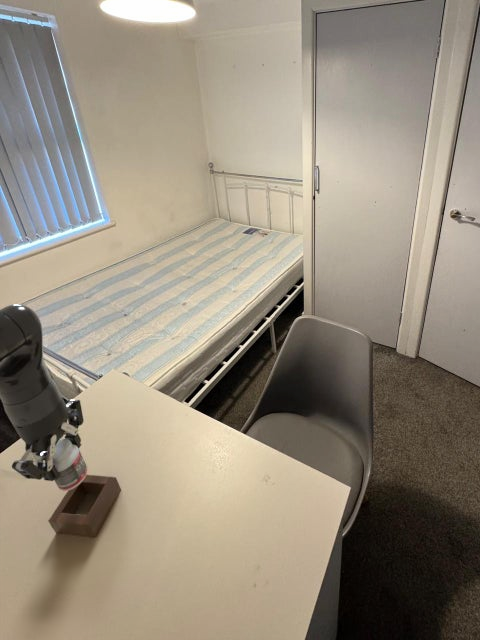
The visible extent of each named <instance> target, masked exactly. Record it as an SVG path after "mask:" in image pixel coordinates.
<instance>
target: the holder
mask: <svg viewBox="0 0 480 640" xmlns="http://www.w3.org/2000/svg"><path fill="white" fill-rule="evenodd" d="M121 491H122V489H121V485H120V484H119V481H118V479H117V477H116V476H106V475H95V474H87V475H86V477H85V478H84V480H83V481H82V482H81V483H80V484H79V485H78V486H77V487H75V488H73V489H71V490H69V491H66V493H65V494H64V496H63V497H62V499H61V501H60V502H59V504H58V505H57V507H56V508H55V510H54V511H53V513H52V515H51V516H50V518H49V519H48V523H49V525H50V526H51V528H52V530H53V531H54V533H55V534H58V535H59V534H60V535H66V536H67V535H69V536H76V537H85V538H95V539H96V538H97V536H98V534H99V533H100V531H101V529H102V527H103V525H104V523H105V521H106V520H107V518H108V516H109V514H110V512H111V510H112V508H113V506H114V504H115V502H116V500H117V499H118V496H119V495H120V493H121ZM88 495H93V496H97V498H96V500H95V501H94V503H93V505H92V506H91V508H90V509H89V512H88V513H87V515H85V514H78V513H77V512H78V509H80V507H81V504H82V503H83V501H84V500H85V499H86V497H87V496H88ZM76 513H77V514H76Z"/></svg>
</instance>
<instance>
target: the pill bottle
mask: <svg viewBox="0 0 480 640" xmlns="http://www.w3.org/2000/svg"><path fill="white" fill-rule="evenodd" d="M53 465H55V467H56V469H57V471H58V473H59V475H60V476H59V478H58V479H57V480H53V482H55V485H56V486H57V488H58V490H60V491H62V492H68V491H69V490H71V489H73V488H75V487H77V486H78V485H79V484H80V483H81V482H82V481H83V480H84V478H85V477H86V475H88V471H89V469H88V466H87V463H86V461H85V459H84V458H83V455H82V453H81V451H80V448H78V447H77V446H76V445H74V444H72V443H71V441H70V440H68V439H65V438H61V439H60V440H59V441H58V442H57V444H56V446H55V456H54V457H53Z"/></svg>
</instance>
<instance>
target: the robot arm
mask: <svg viewBox="0 0 480 640" xmlns="http://www.w3.org/2000/svg"><path fill="white" fill-rule="evenodd" d="M43 333H44V332H43V325H42V321H41V319H40V317H39V314H37V313H36V311H34V310H33V308H31V307H30V306H27V305H24V304H20V303H15V304H9V305H6V306H4V307H2V308H0V401H1V403H2V405H3V409H4V410H3V411H4V412H5V414H6V416H7V417H8V419H9V421H10V422H11V424H12V426H13V428H14V429H15V431H16V433H17V434H18V437H19V438H20V439H21V440H22V441H23V442H24V443H25V444H24V445H25V446H24V449H25V452H24V454H23V455H22V456H21V457H20V459H16V460H15V461H14V462H12V464H11V469H12V470H14V471H16V472H17V473H18V474H20V475H21V476H22V477H24V478H25V479H26V480H31V479H32V480H38V481H40V480H42V479H43V481H48V482H54V480H57V479H58V478H59V476H60V475H59V473H58V471H57V469H56V467H55V465H53V457H54V456H55V446H56V444H57V442H58V441H59V440H62V439H63V438H64V439H68V440H70V441H71V443H72V444H74V445H76V446H77V447H78V448H79V449H80V448H81V446H82V443H81V442H82V438H81V436H80V433H79V431H80V430H79V427H80V426H82V425H83V424H84V415H83V410H82V403H81V400H80V399H69V398H68V399H66V400H64V397H63V396H62V393H61V390H60V389H59V387H58V385H57V383H56V381H55V380H54V379H53V378H52V376H51V373H50V371H49V370H48V367H47V365H46V363H45V361H44V340H43V339H44V334H43ZM64 435H65V436H64Z"/></svg>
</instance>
